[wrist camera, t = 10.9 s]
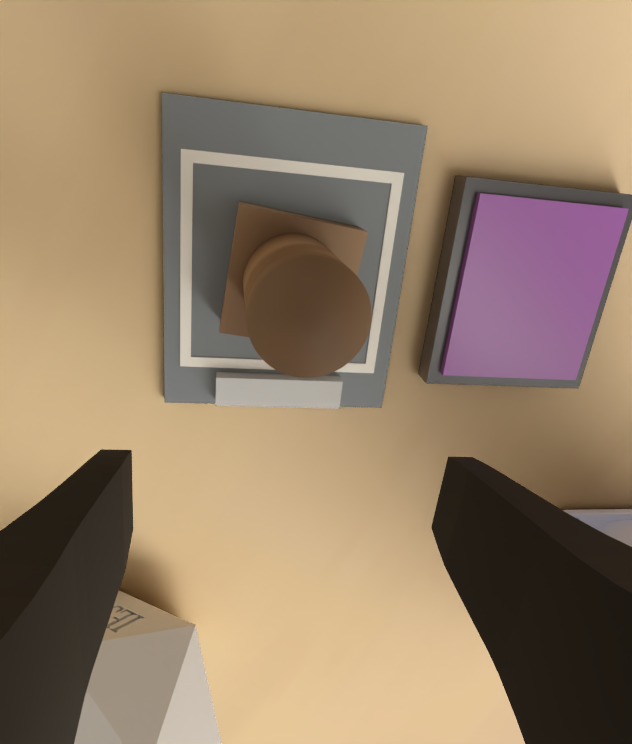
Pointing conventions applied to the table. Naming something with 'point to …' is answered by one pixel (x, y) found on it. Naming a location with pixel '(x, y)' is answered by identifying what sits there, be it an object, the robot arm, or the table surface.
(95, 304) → the table surface
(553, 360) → the ink pad
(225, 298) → the stamp
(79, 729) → the die
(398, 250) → the grey framed plate
